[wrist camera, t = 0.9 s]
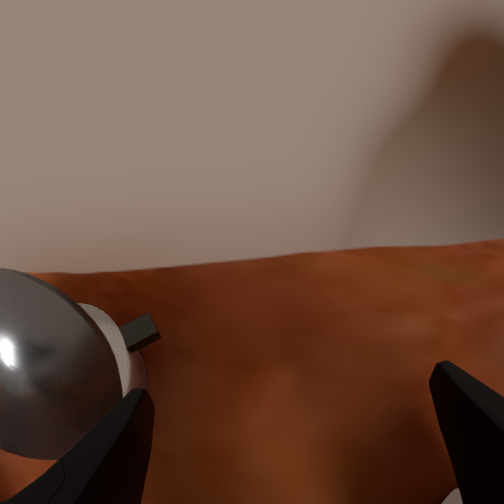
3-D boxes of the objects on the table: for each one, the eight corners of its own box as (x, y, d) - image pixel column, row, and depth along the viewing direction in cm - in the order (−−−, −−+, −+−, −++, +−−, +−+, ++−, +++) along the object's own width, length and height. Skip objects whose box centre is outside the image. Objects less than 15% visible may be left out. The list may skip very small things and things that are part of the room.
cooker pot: (201, 402, 22) (185, 385, 18) (41, 472, 16) (7, 463, 13) (145, 297, 29) (128, 267, 25) (16, 366, 23) (-12, 346, 20)
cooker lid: (158, 405, 17) (167, 429, 15) (22, 463, 13) (22, 485, 11) (40, 220, 11) (30, 230, 10) (-99, 325, 7) (-113, 343, 6)
